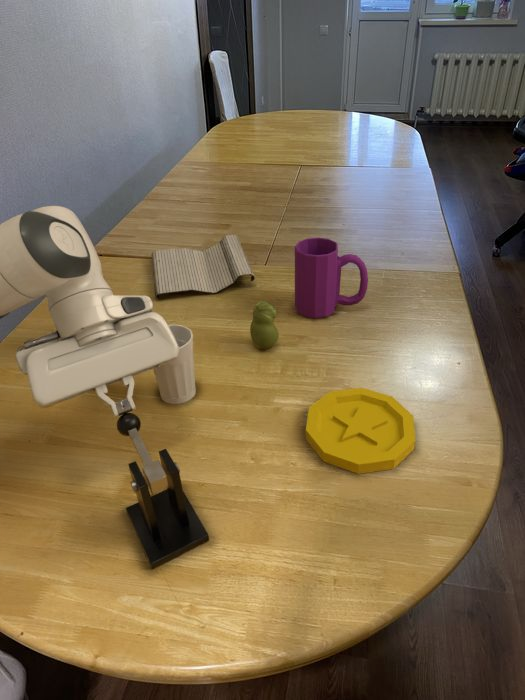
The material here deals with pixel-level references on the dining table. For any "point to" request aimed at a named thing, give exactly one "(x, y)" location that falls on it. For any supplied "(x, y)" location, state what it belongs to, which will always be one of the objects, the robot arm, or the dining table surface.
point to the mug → (323, 277)
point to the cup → (178, 370)
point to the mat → (200, 267)
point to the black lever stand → (164, 516)
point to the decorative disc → (360, 430)
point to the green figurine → (264, 325)
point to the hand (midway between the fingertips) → (125, 413)
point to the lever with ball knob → (143, 453)
